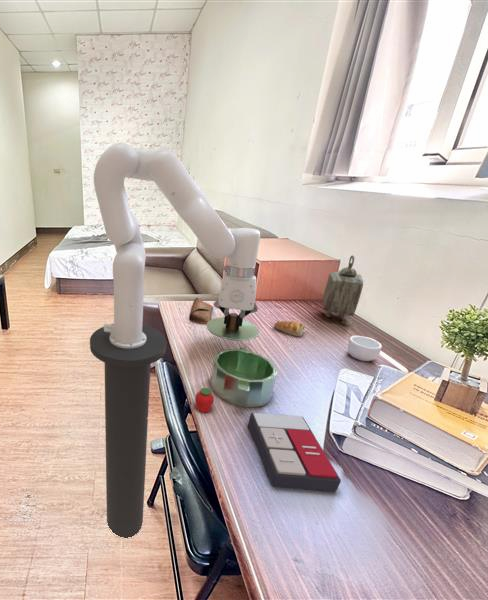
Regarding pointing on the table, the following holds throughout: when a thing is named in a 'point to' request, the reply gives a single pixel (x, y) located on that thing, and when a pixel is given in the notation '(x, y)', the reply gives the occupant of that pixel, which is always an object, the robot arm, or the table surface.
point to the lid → (232, 329)
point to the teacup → (363, 348)
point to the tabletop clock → (343, 292)
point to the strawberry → (204, 400)
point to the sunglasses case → (200, 312)
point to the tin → (243, 377)
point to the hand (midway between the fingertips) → (232, 326)
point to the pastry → (290, 327)
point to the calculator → (292, 453)
